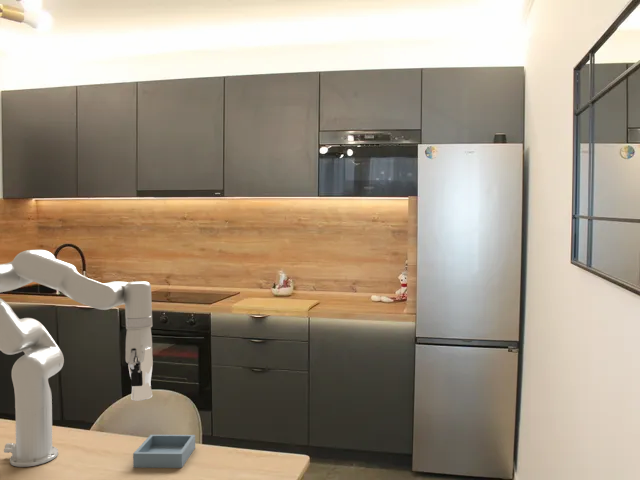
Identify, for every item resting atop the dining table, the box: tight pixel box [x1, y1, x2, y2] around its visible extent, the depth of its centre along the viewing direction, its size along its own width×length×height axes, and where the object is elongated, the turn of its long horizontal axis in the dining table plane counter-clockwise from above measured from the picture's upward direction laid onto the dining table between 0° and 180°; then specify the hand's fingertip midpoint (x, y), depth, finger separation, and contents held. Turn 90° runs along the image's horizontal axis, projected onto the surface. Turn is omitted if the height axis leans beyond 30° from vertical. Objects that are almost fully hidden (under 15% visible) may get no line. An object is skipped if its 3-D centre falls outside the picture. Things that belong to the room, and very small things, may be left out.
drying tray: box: [132, 434, 196, 469], centre depth 155 cm, size 14×14×4 cm
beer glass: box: [127, 346, 154, 401], centre depth 155 cm, size 7×7×15 cm
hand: (141, 381), depth 155 cm, fingers closed on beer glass, 6 cm apart
